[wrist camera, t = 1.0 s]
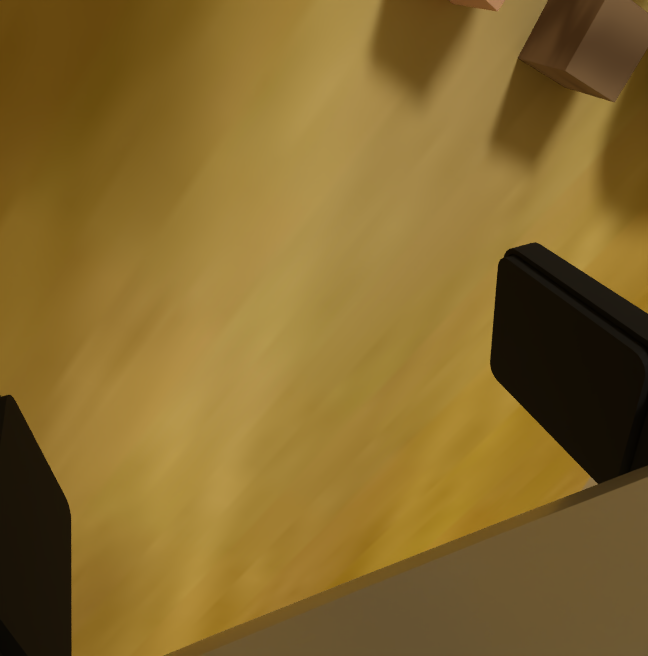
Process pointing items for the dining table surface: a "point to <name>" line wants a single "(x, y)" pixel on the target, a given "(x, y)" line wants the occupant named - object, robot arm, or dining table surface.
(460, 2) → the terracotta block
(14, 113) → the dining table surface
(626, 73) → the walnut block
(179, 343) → the dining table surface
